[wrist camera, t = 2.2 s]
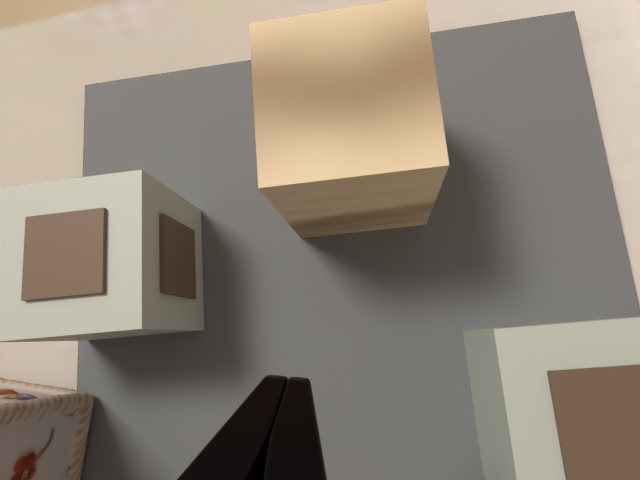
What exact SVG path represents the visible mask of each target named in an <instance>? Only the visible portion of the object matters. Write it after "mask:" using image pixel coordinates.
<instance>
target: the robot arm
mask: <svg viewBox="0 0 640 480" xmlns="http://www.w3.org/2000/svg"><path fill="white" fill-rule="evenodd" d="M177 480H327V476H326V470H325V464H324V458H323V452H322V446H321V440H320V434H319V429H318V423H317V417H316V411H315V405H314V399H313V393H312V387H311V382H310V380H309V379H308V378H302V377H290V378H289V379H288V378H287V377H286V376H281V375H267V376H265V377H264V378H263V379H262V380H261V382H260V383H259V384H258V385H257V386H256V387H255V389H254V390H253V391H252V392H251V393H250V395H249V396H248V397H247V398H246V399H245V400H244V402H243V403H242V404H241V405H240V406H239V407H238V409H237V410H236V411H235V412H234V413H233V414H232V416H231V417H230V418H229V419H228V420H227V421H226V423H225V424H224V425H223V426H222V427H221V428H220V430H219V431H218V432H217V433H216V434H215V435H214V437H213V438H212V439H211V440H210V441H209V442H208V444H207V445H206V446H205V447H204V448H203V449H202V451H201V452H200V453H199V454H198V455H197V456H196V458H195V459H194V460H193V461H192V462H191V464H190V465H189V466H188V467H187V468H186V469H185V471H184V472H183V473H182V474H181V475H180V476H179V478H178V479H177Z"/></svg>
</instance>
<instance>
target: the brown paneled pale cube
mask: <svg viewBox="0 0 640 480" xmlns="http://www.w3.org/2000/svg"><path fill="white" fill-rule="evenodd" d="M202 330H204V301H203V265H202V230H201V210H200V209H199V208H197V207H196V206H194V205H193V204H191V203H190V202H188V201H187V200H185V199H184V198H183V197H181V196H180V195H178V194H177V193H175V192H174V191H172V190H171V189H169V188H168V187H166V186H165V185H164V184H162V183H161V182H159V181H158V180H156V179H155V178H153V177H152V176H150V175H149V174H147V173H146V172H145V171H143V170H134V171H127V172H119V173H111V174H103V175H95V176H88V177H80V178H72V179H64V180H56V181H49V182H41V183H33V184H25V185H18V186H10V187H2V188H0V342H31V341H81V340H98V339H109V338H121V337H133V336H144V335H156V334H167V333H179V332H190V331H202Z"/></svg>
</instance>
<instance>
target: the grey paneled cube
mask: <svg viewBox="0 0 640 480" xmlns="http://www.w3.org/2000/svg"><path fill="white" fill-rule="evenodd" d="M463 336H464V343H465V350H466V357H467V364H468V371H469V378H470V385H471V392H472V399H473V407H474V414H475V421H476V428H477V435H478V442H479V449H480V456H481V463H482V470H483V476H484V477H485V479H486V480H640V317H629V318H614V319H600V320H588V321H576V322H564V323H551V324H539V325H527V326H514V327H502V328H490V329H477V330H465V331H463Z"/></svg>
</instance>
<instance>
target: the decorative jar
mask: <svg viewBox="0 0 640 480" xmlns="http://www.w3.org/2000/svg"><path fill="white" fill-rule="evenodd" d="M93 402H94V398H93V397H92V396H91V395H90V394H88V393H85V392H79V391H75V390H70V389H66V388H58V387H52V386H45V385H39V384H31V383H26V382H21V381H15V380H7V379H3V378H0V480H80V478H81V474H82V466H83V461H84V455H85V450H86V443H87V436H88V431H89V426H90V420H91V415H92V411H93Z"/></svg>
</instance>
